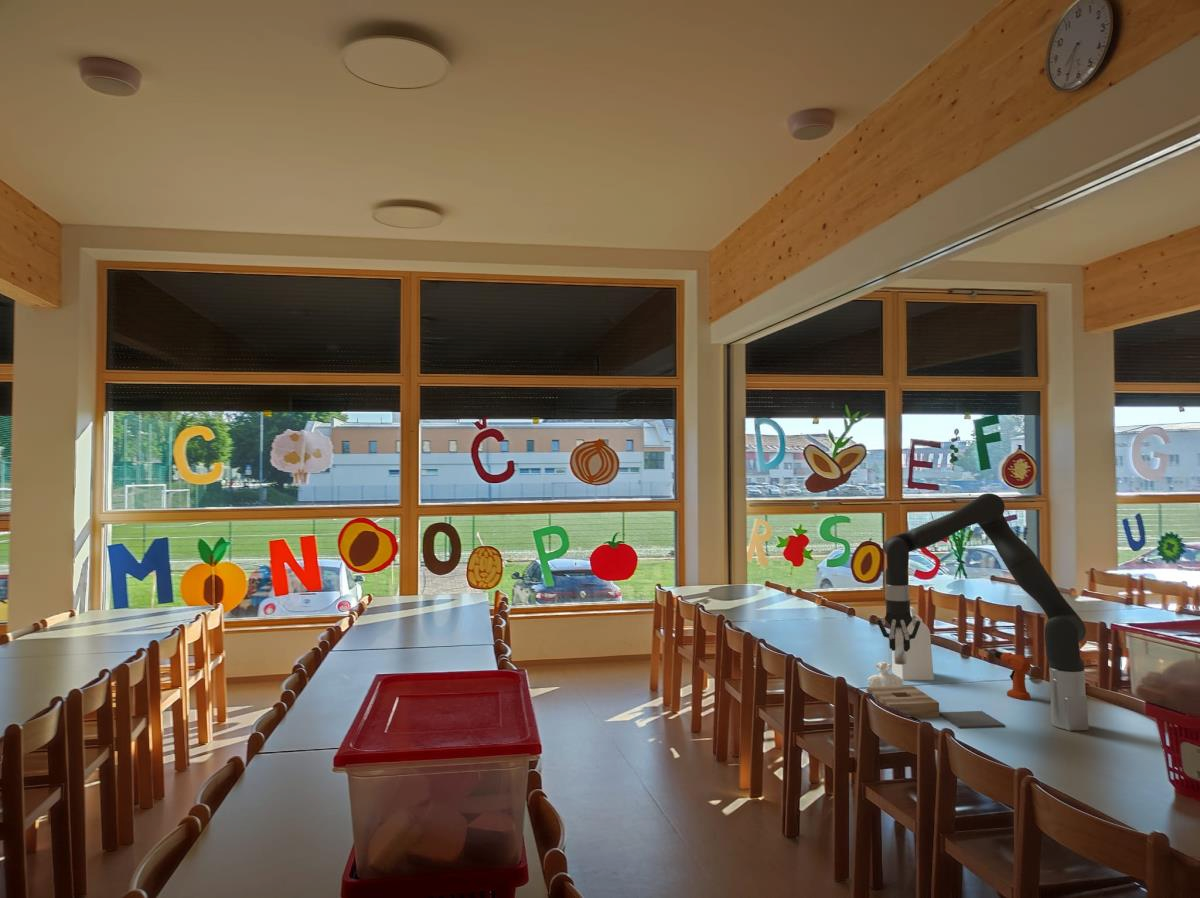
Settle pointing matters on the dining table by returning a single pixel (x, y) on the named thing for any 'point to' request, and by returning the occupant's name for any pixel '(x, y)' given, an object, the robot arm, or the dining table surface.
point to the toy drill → (1015, 673)
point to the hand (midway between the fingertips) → (899, 650)
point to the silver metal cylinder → (899, 646)
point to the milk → (916, 654)
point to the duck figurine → (884, 677)
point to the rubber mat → (971, 719)
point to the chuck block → (906, 700)
